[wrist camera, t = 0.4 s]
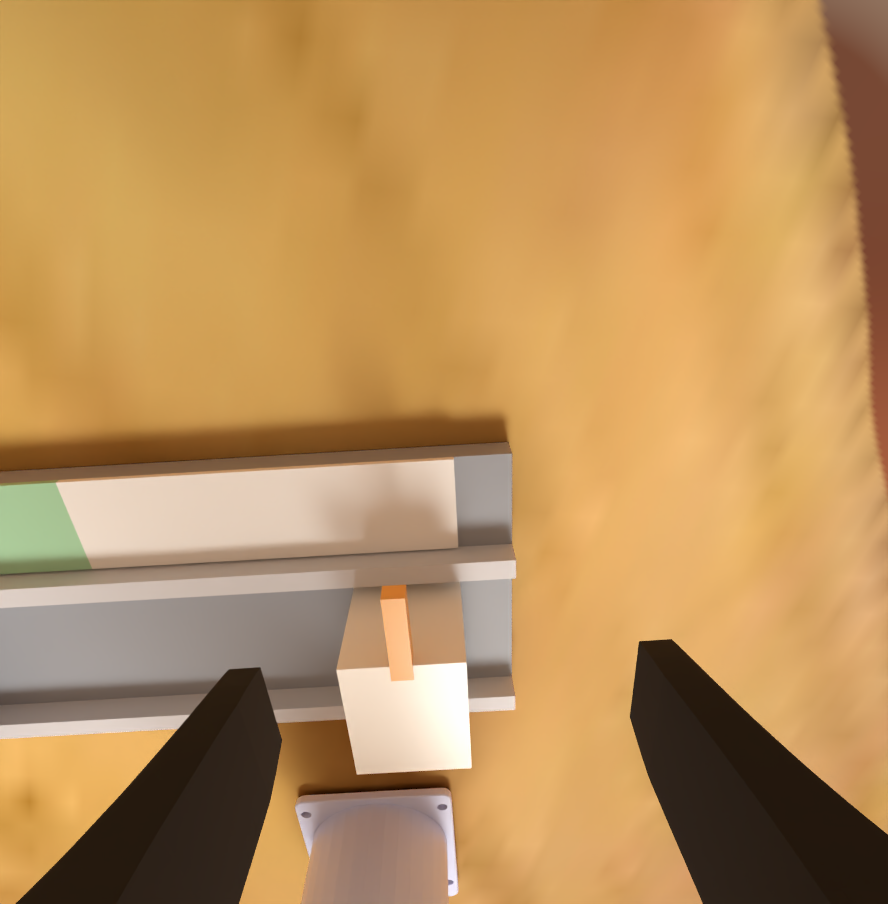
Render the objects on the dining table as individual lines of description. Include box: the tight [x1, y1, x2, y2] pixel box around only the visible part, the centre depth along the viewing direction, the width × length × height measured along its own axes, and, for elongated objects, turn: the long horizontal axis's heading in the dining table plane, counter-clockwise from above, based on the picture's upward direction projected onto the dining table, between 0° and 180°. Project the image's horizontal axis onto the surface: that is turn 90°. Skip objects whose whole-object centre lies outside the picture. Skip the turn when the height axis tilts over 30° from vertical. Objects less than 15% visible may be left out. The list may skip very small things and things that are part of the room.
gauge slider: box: [336, 582, 472, 775], centre depth 18 cm, size 8×4×4 cm, turn 3°
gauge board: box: [0, 442, 516, 739], centre depth 18 cm, size 12×24×5 cm, turn 93°
